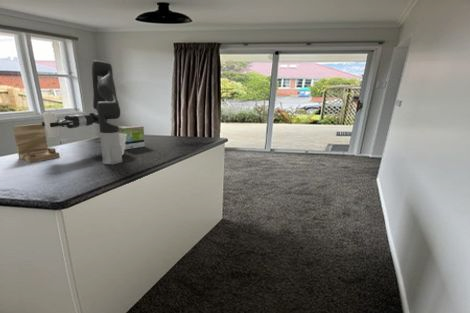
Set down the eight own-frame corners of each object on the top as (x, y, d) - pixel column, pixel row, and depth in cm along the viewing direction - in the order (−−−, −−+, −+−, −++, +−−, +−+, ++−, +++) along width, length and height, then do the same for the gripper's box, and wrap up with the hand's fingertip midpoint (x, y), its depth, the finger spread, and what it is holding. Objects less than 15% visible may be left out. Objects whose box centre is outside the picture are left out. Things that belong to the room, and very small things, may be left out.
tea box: (125, 150, 165) (123, 128, 161) (117, 147, 171) (115, 126, 167) (145, 146, 177) (143, 126, 173) (137, 144, 183) (135, 124, 179)
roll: (61, 136, 137) (57, 112, 134) (50, 138, 133) (46, 113, 129) (56, 135, 140) (52, 111, 137) (44, 136, 135) (40, 112, 132)
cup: (120, 157, 147) (118, 137, 144) (102, 156, 149) (100, 135, 146) (131, 153, 159) (130, 134, 155) (115, 151, 161) (113, 132, 157)
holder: (59, 156, 144) (55, 126, 139) (31, 162, 132) (25, 129, 128) (47, 153, 151) (42, 123, 146) (19, 158, 139) (12, 126, 134)
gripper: (65, 114, 149) (35, 116, 133) (83, 115, 144) (54, 118, 129) (67, 126, 151) (38, 130, 135) (85, 128, 146) (57, 132, 131)
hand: (46, 124), depth 132 cm, fingers closed on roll, 5 cm apart
